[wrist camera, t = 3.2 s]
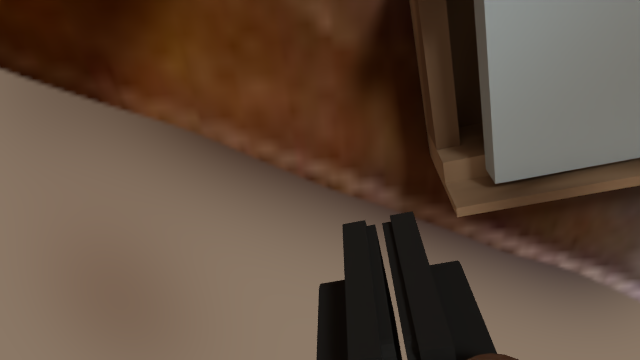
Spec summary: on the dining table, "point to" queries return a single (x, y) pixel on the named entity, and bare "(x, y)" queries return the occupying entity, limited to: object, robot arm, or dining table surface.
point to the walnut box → (466, 121)
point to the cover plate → (558, 84)
